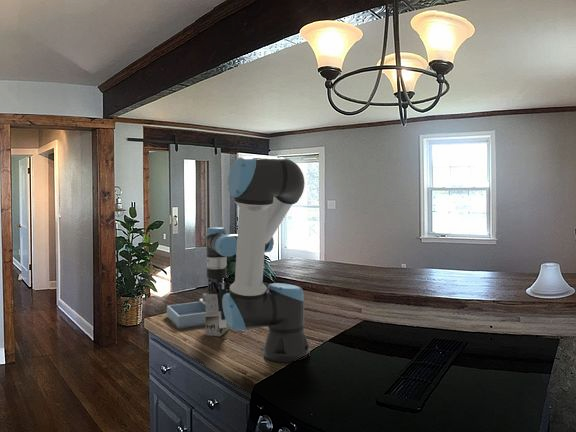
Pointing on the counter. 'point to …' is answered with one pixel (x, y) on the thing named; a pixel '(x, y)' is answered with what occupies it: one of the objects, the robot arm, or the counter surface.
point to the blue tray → (187, 314)
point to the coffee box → (213, 314)
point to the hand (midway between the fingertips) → (217, 323)
